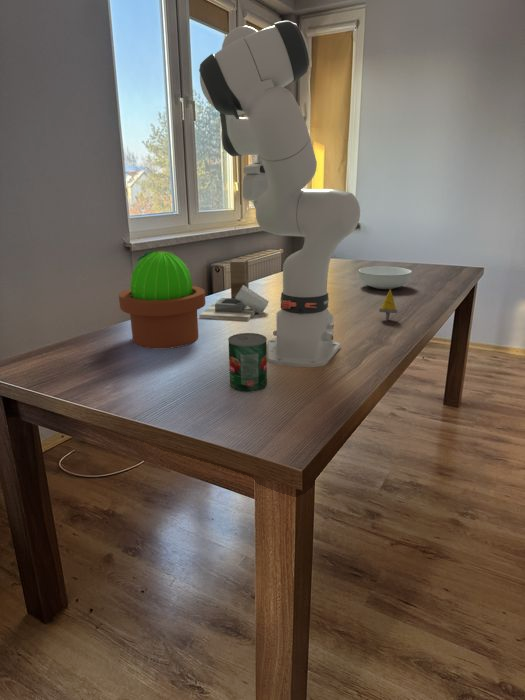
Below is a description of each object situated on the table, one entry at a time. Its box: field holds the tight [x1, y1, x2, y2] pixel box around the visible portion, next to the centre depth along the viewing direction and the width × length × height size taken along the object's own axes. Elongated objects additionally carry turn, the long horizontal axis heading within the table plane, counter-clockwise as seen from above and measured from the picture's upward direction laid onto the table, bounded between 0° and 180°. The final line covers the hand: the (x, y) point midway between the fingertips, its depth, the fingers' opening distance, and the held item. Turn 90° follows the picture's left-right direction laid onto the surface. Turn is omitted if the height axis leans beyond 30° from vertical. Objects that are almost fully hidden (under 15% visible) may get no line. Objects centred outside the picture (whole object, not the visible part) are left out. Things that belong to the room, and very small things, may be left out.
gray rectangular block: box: [235, 285, 269, 315], centre depth 157 cm, size 4×4×10 cm
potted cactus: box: [118, 250, 206, 349], centre depth 129 cm, size 22×22×25 cm
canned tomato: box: [227, 332, 268, 393], centre depth 100 cm, size 8×8×11 cm
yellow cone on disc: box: [378, 289, 398, 322], centre depth 148 cm, size 5×5×10 cm
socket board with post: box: [198, 259, 257, 322], centre depth 160 cm, size 24×16×16 cm, turn 168°
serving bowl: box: [358, 266, 413, 290], centre depth 195 cm, size 21×21×7 cm
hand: (272, 215), depth 149 cm, fingers open, 8 cm apart
